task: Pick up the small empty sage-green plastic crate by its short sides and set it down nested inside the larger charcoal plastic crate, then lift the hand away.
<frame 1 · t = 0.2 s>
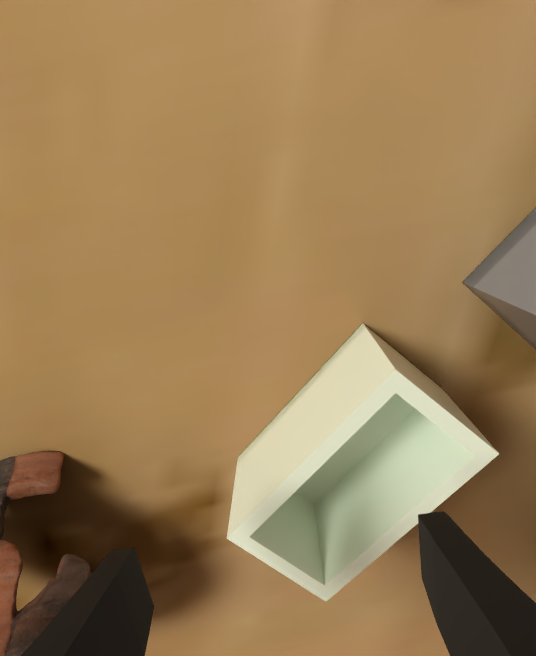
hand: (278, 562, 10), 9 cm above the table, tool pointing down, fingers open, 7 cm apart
sage crate: (336, 424, 19), on the table
pottery mug: (40, 523, 22), on the table
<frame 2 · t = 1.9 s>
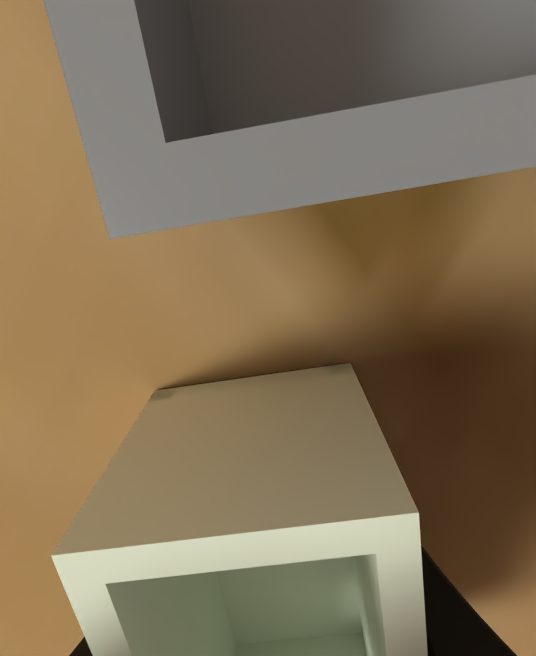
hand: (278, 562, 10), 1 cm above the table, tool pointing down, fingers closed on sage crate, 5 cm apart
sage crate: (278, 519, 11), on the table, touching gripper
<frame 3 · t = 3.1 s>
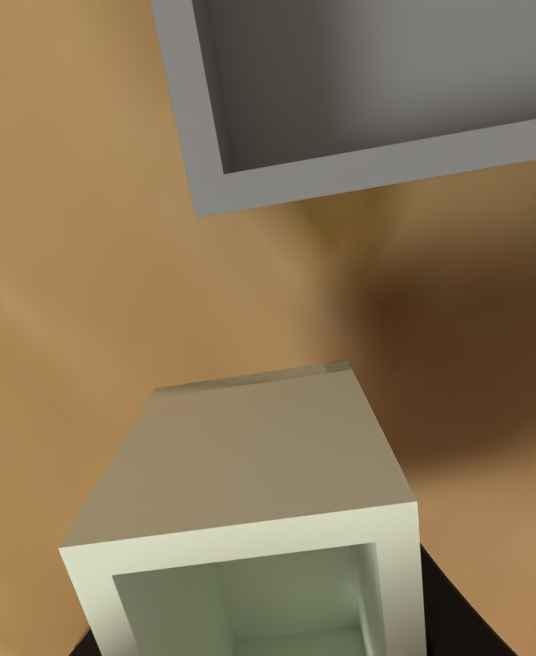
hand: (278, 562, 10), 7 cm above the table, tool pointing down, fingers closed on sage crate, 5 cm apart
sage crate: (277, 515, 12), point 5 cm above the table, touching gripper
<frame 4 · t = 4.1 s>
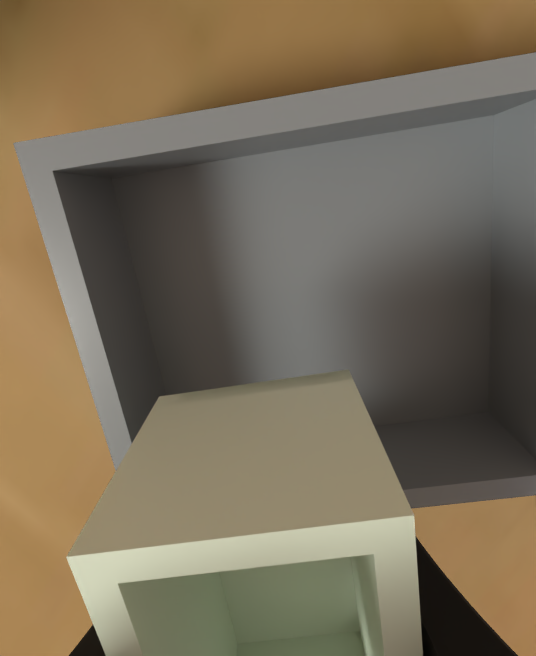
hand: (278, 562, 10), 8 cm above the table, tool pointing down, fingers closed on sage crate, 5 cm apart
sage crate: (278, 521, 12), point 7 cm above the table, touching gripper
charcoal crate: (313, 298, 17), on the table
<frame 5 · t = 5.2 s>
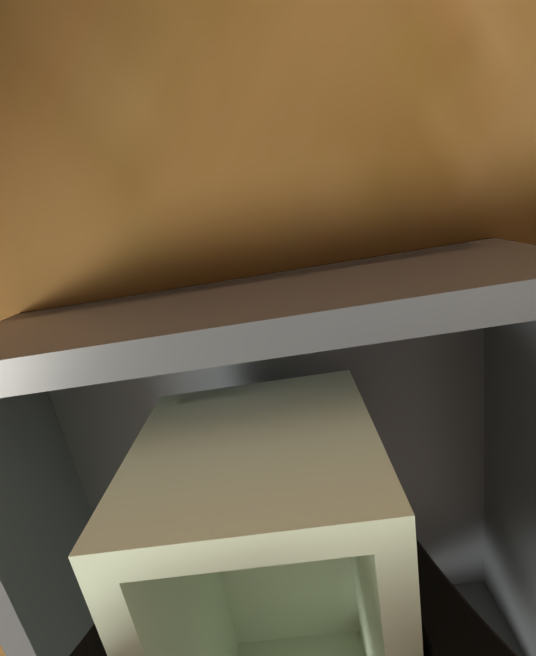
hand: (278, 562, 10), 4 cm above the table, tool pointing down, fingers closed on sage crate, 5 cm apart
sage crate: (279, 521, 12), point 3 cm above the table, touching gripper
charcoal crate: (278, 455, 14), on the table
when the fingers open (4 cm above the table, at t = 6.2 s): sage crate drops 1 cm, resting on charcoal crate.
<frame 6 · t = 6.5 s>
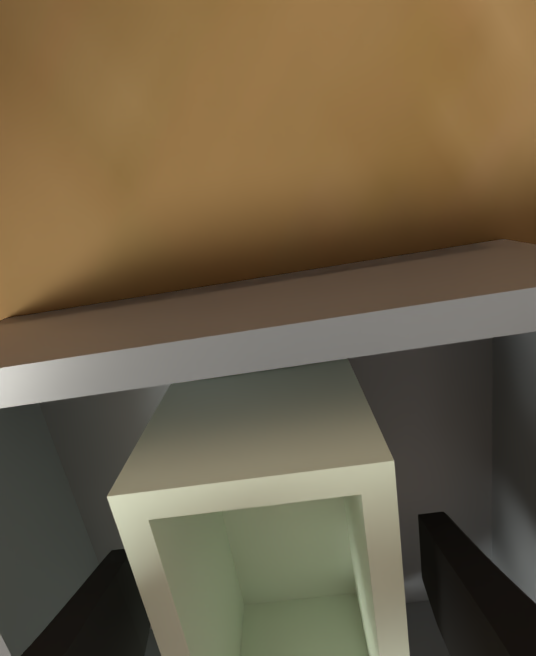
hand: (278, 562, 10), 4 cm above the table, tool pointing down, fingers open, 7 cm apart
sage crate: (281, 491, 13), point 1 cm above the table, touching charcoal crate
charcoal crate: (278, 464, 14), on the table
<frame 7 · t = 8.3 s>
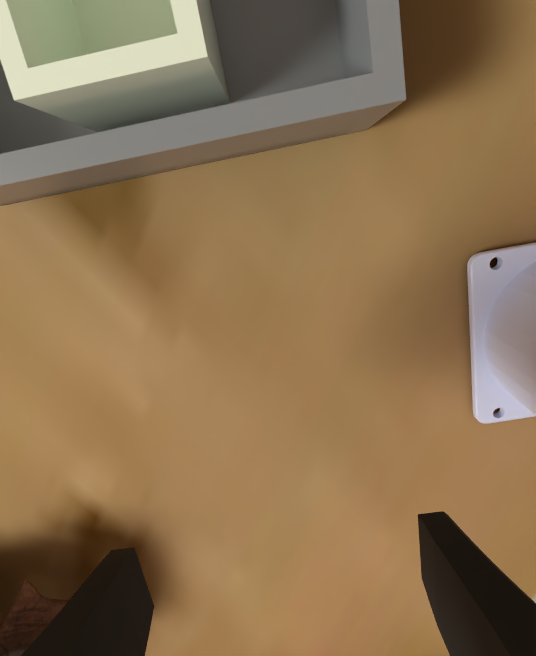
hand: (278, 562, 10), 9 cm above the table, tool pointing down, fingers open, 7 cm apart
pottery mug: (12, 598, 24), on the table
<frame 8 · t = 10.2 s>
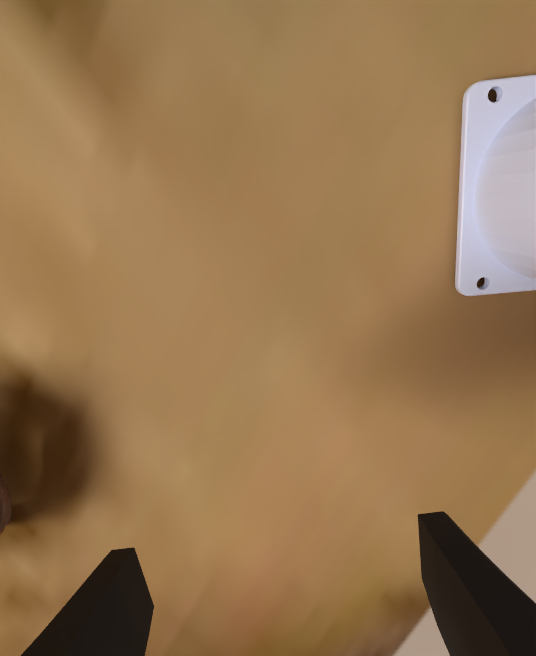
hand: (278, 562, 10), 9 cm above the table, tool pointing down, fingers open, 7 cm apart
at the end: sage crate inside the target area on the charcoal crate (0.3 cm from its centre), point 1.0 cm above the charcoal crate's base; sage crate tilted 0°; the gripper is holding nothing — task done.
